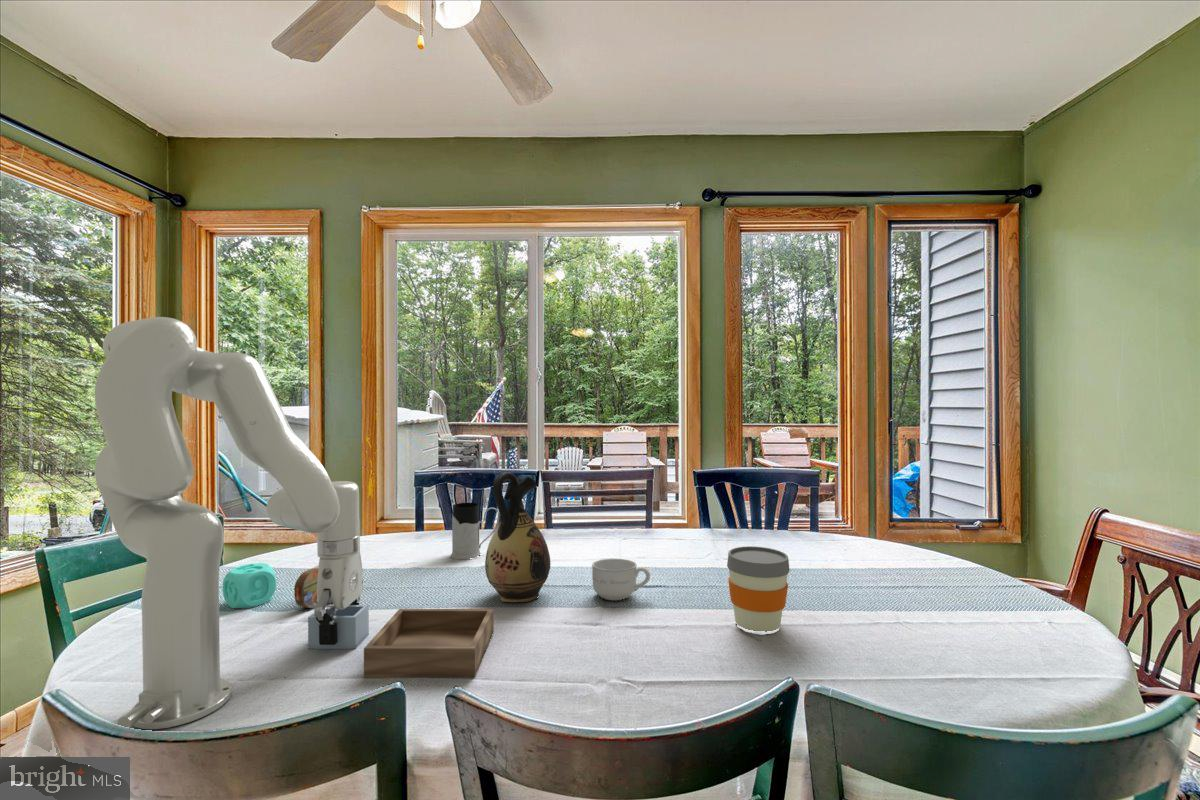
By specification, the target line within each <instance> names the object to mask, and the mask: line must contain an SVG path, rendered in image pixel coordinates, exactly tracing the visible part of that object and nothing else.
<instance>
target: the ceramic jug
mask: <svg viewBox="0 0 1200 800" xmlns="http://www.w3.org/2000/svg"><path fill="white" fill-rule="evenodd" d="M507 481H508V482H509V487H508V489H507V491H506V494H505V496H504V494H503V491H502V487H503V486H502V485H503V484H504V483H505V482H507ZM537 486H538V485H537V482H536V480H534V478H532V477H530V476H527V475H526V476H525V477H521V476H518V477H517V476H516V475H515V474H513V473H512V472H510V471H509V472H507V471H503V472H500V473H498V474H496V476H495V477H494V479H493V484H492V491H493V497H494V499H495V503H496V505H497V510H498V512H499V520H500V522H498V526H497V528H496V530H495V532H494V533H493V534H492V535H491V539H490V541H489V543H488V546H487V549H486V553H485V554H486V555H485V559H484V561H485V562H484V570H485V575H486V578H487V581H488V583H489V584H490V585H491V587H492V588H494V590H495V591H496V592H497V594H498V595H499V599H500V601H501V600H502V601H501V602H503V603H527V602H528V603H529V602H531V601H534V599H535V600H537V599H536V598H537V597H538V596H539V597H540V595H539V593H540V591H541V590H542V587H543V585H544V584H545V583H546V582H547V579H548V578H549V573H550V572H551V571H550V570H551V556H550V551H549V547H548V544H547V541H546V539H545V537H544V536H543V533H542V531H541V530H540V529H539V527H538V525H537V524H536V522H535V521H534V520H533V518H532V517H531V516H530V515H529V514H528V512H527V510H526V508H525V506H524V503H523V498H524V496H526V495H527V494H528V493H530V492H531V491H532V490H534V489H535V488H536V487H537ZM506 500H507V501H509V502H508V507H507V506H506V505H507V504H506Z"/></svg>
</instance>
